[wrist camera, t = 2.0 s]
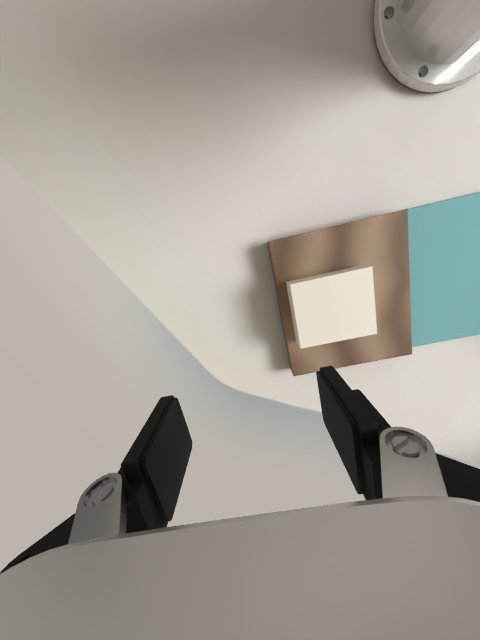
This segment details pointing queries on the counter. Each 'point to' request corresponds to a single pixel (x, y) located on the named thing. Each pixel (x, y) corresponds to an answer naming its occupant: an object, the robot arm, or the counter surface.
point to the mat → (444, 270)
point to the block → (333, 306)
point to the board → (341, 253)
